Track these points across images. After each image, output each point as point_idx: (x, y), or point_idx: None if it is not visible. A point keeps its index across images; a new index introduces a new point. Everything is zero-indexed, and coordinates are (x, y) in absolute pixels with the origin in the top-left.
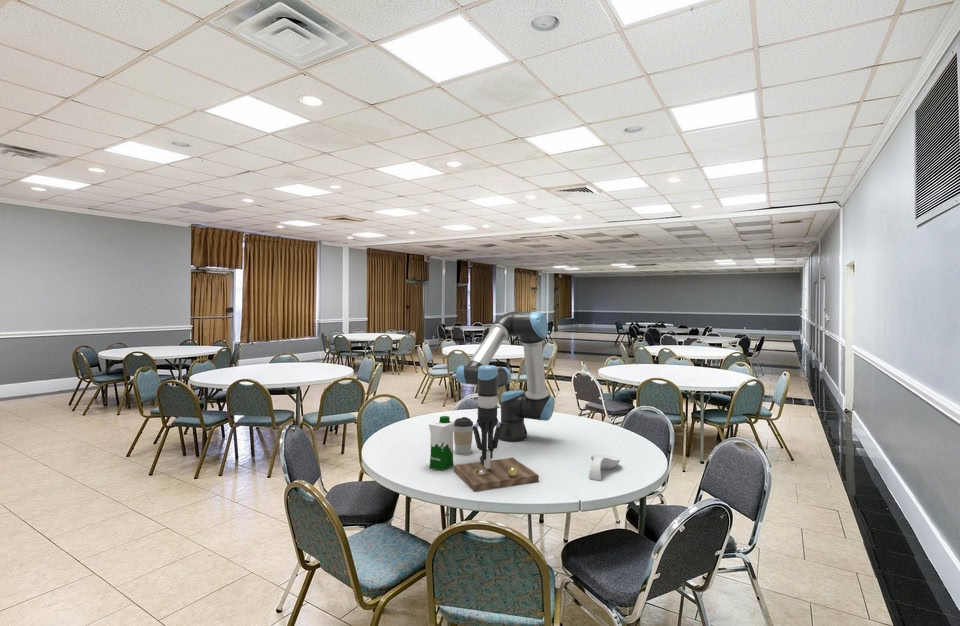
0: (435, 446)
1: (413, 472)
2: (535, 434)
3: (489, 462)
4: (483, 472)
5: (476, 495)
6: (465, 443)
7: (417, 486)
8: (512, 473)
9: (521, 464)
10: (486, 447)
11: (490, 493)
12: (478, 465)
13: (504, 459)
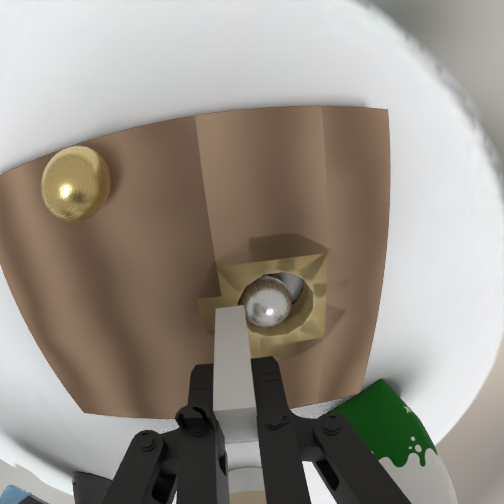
0: (434, 447)
1: (452, 364)
2: (62, 475)
3: (222, 335)
4: (264, 293)
5: (368, 63)
6: (250, 495)
7: (499, 254)
8: (82, 147)
9: (41, 343)
10: (264, 446)
11: (288, 55)
12: None
13: (115, 410)
